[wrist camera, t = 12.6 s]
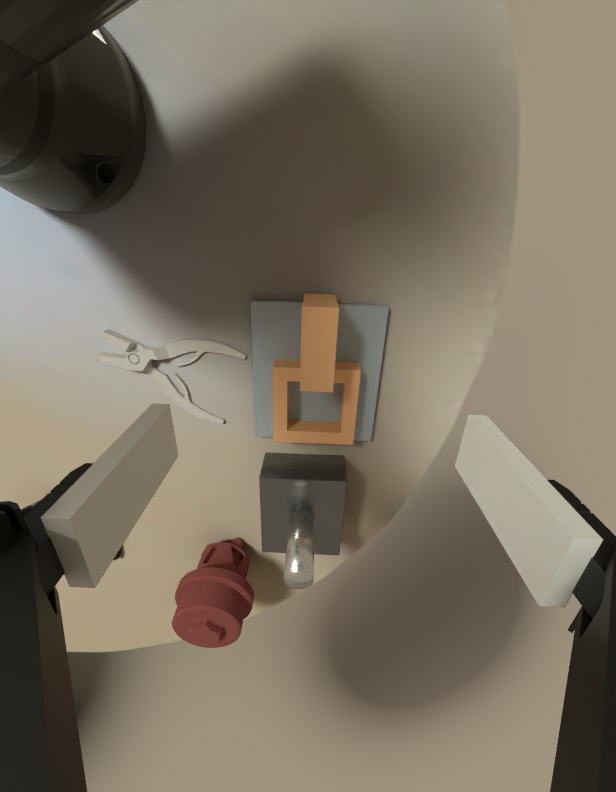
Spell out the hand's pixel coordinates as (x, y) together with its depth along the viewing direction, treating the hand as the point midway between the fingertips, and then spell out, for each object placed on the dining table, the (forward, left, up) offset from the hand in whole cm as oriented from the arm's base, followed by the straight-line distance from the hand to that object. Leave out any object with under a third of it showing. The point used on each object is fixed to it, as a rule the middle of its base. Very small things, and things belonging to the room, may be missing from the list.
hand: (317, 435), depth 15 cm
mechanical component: (+35, -12, -23) cm, 44 cm away
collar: (+5, 0, -22) cm, 22 cm away
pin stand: (+23, -1, -23) cm, 32 cm away
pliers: (+6, -16, -23) cm, 29 cm away
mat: (+6, 0, -23) cm, 24 cm away
